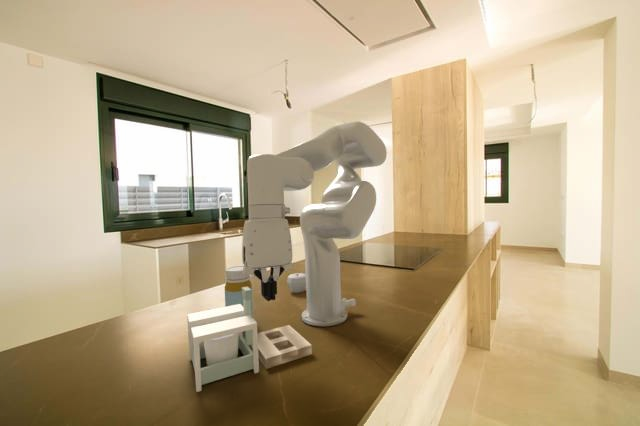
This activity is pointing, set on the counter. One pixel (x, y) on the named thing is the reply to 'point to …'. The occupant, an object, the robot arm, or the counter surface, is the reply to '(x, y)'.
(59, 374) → the counter surface
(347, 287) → the counter surface
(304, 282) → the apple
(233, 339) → the white cup
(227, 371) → the slider
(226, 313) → the tunnel
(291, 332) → the board
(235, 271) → the bottle
